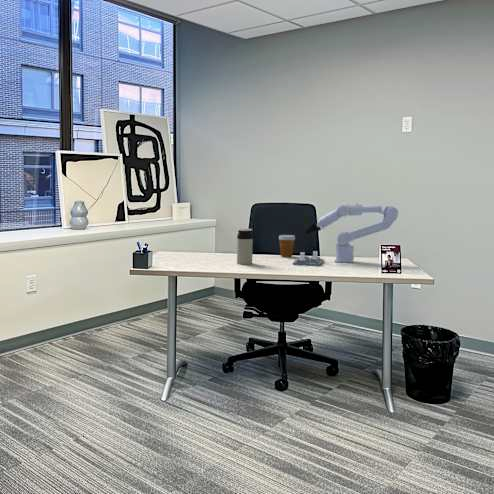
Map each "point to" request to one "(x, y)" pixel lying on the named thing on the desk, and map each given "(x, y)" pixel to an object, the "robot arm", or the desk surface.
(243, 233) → the travel mug
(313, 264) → the switch bank
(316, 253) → the tab
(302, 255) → the tab
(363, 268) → the desk surface
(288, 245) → the disposable coffee cup
